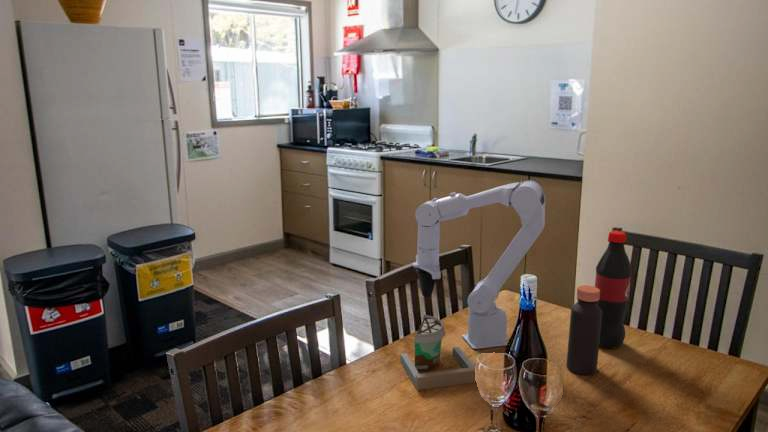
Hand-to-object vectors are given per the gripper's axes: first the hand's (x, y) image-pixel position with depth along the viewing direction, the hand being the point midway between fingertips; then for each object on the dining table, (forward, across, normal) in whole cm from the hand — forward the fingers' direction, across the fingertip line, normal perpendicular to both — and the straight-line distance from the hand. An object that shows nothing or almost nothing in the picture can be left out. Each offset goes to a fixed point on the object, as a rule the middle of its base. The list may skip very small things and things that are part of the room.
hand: (426, 295), depth 148 cm
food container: (+11, +17, -4) cm, 21 cm away
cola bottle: (+10, +18, +43) cm, 48 cm away
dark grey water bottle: (+10, +28, +29) cm, 42 cm away
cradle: (+10, +20, -4) cm, 23 cm away
